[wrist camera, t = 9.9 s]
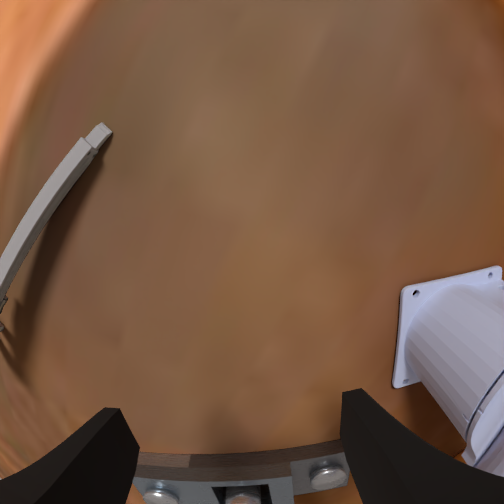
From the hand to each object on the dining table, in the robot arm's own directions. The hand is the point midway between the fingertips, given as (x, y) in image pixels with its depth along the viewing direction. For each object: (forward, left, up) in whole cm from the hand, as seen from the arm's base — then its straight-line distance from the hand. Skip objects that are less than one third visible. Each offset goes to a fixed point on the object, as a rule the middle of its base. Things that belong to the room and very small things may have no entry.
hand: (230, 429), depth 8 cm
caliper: (+14, -5, -10) cm, 18 cm away
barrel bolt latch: (+2, +16, -9) cm, 19 cm away
